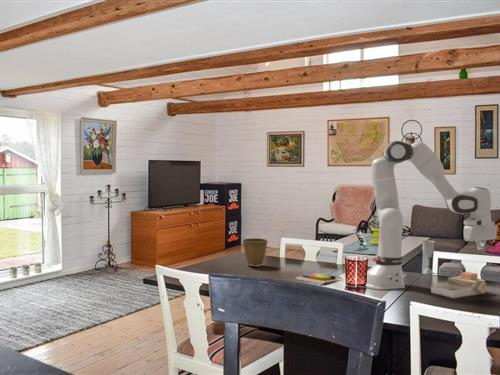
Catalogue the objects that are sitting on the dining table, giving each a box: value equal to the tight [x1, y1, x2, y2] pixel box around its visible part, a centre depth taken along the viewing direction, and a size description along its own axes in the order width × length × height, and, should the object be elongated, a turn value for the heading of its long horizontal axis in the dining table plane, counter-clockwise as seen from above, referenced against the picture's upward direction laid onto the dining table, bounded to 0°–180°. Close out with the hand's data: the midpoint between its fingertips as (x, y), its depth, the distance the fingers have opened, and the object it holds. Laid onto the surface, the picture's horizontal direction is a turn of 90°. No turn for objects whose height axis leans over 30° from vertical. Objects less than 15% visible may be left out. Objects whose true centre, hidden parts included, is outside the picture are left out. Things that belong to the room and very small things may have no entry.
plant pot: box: [242, 237, 268, 265], centre depth 285 cm, size 15×15×16 cm
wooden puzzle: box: [295, 272, 343, 286], centre depth 246 cm, size 18×19×4 cm
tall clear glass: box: [421, 239, 436, 275], centre depth 267 cm, size 7×7×18 cm
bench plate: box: [447, 275, 486, 296], centre depth 222 cm, size 10×12×6 cm
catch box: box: [430, 283, 472, 300], centre depth 216 cm, size 12×12×3 cm
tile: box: [460, 271, 478, 280], centre depth 223 cm, size 5×5×2 cm
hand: (480, 249), depth 226 cm, fingers closed
